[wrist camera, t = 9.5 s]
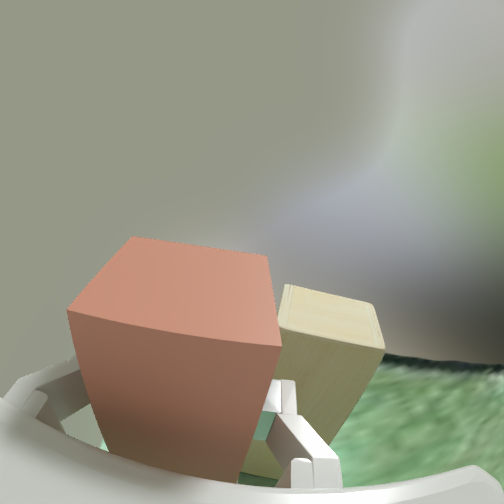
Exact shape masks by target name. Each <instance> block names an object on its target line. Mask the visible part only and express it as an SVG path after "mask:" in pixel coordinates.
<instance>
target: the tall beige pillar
mask: <svg viewBox="0 0 504 504" xmlns="http://www.w3.org/2000/svg"><path fill="white" fill-rule="evenodd" d="M277 318H278V324H279V330H280V336H281V342H282V349H281V352H280V355H279V359H278V362H277V365H276V369H275V372H274V375H273V378H275V379H283V380H293V381H295V385H296V400H297V415H302V417H303V418H304V419H305V420H306V421H307V422H308V424H309V425H310V426H311V427H312V428H313V429H314V431H315V432H316V433H317V434H318V435H319V436H320V437H321V439H322V440H323V441H324V442H325V443H326V444H327V445H328V446H329V444H330V443H331V441H332V440H333V439H334V437H335V436H336V434H337V433H338V431H339V430H340V428H341V427H342V425H343V424H344V422H345V421H346V419H347V418H348V416H349V415H350V413H351V412H352V410H353V409H354V407H355V405H356V404H357V402H358V401H359V399H360V397H361V396H362V394H363V392H364V391H365V389H366V387H367V386H368V384H369V382H370V380H371V379H372V377H373V375H374V373H375V371H376V370H377V368H378V366H379V364H380V362H381V360H382V358H383V356H384V354H385V344H384V340H383V336H382V333H381V330H380V326H379V323H378V319H377V316H376V313H375V310H374V307H373V305H372V304H370V303H367V302H362V301H358V300H354V299H349V298H345V297H340V296H336V295H332V294H328V293H323V292H318V291H315V290H310V289H306V288H302V287H298V286H294V285H289V284H285V285H284V289H283V292H282V296H281V300H280V305H279V308H278V312H277ZM241 472H243V473H248V474H252V475H256V476H261V477H266V478H271V479H277V480H279V479H280V478H281V476H282V475H283V473H284V472H283V470H282V468H281V467H280V465H279V463H278V462H277V460H276V459H275V457H274V455H273V454H272V452H271V450H270V449H269V447H268V445H267V444H266V441H262V440H255V439H252V441H251V444H250V447H249V450H248V453H247V455H246V458H245V461H244V464H243V466H242V469H241Z"/></svg>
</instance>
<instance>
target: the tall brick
mask: <svg viewBox="0 0 504 504" xmlns="http://www.w3.org/2000/svg"><path fill="white" fill-rule="evenodd" d="M67 315H68V320H69V325H70V330H71V334H72V339H73V343H74V347H75V351H76V355H77V359H78V363H79V367H80V371H81V374H82V378H83V381H84V384H85V388H86V391H87V394H88V397H89V400H90V403H91V406H92V409H93V412H94V414H95V418H96V420H97V423H98V426H99V428H100V431H101V433H102V435H103V438H104V441H105V443H106V446H107V448H108V450H109V452H110V453H113V454H115V455H118V456H121V457H124V458H127V459H130V460H133V461H136V462H139V463H143V464H146V465H149V466H153V467H156V468H160V469H164V470H168V471H172V472H176V473H180V474H184V475H189V476H194V477H198V478H204V479H209V480H215V481H221V482H227V483H234V484H236V482H237V480H238V477H239V474H240V472H241V469H242V466H243V464H244V461H245V458H246V455H247V453H248V450H249V447H250V444H251V441H252V438H253V436H254V433H255V430H256V427H257V424H258V421H259V418H260V415H261V412H262V409H263V406H264V403H265V400H266V397H267V394H268V391H269V388H270V385H271V381H272V378H273V375H274V372H275V369H276V365H277V362H278V359H279V355H280V352H281V349H282V342H281V336H280V330H279V324H278V318H277V312H276V306H275V300H274V294H273V288H272V283H271V277H270V272H269V266H268V259H267V256H266V255H259V254H251V253H245V252H238V251H231V250H224V249H217V248H210V247H203V246H197V245H190V244H183V243H176V242H169V241H162V240H156V239H149V238H141V237H135V236H132V237H131V238H130V240H128V241H127V242H126V243H125V244H124V246H123V247H122V248H121V249H120V250H119V251H118V252H117V253H116V254H115V255H114V256H113V257H112V259H110V261H109V262H108V263H107V264H106V265H105V266H104V267H103V268H102V269H101V270H100V271H99V273H98V274H97V275H96V276H95V277H94V278H93V279H92V280H91V281H90V283H89V284H88V285H87V286H86V287H85V288H84V290H83V291H82V292H81V293H80V294H79V295H78V296H77V298H76V299H75V300H74V301H73V302H72V304H71V305H70V306H69V307H68V308H67Z"/></svg>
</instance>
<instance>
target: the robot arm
mask: <svg viewBox="0 0 504 504" xmlns="http://www.w3.org/2000/svg"><path fill="white" fill-rule="evenodd" d="M88 404H90V400H89V397H88V394H87V391H86V388H85V384H84V381H83V378H82V374H81V371H80V367H79V363H78V359H77V355H76V353H75V354H74V356H73V357H72V358H71V360H70V361H69V362H68V361H64V362H61V363H58V364H56V365H53V366H51V367H48V368H45V369H43V370H40V371H38V372H35V373H32V374H30V375H27V376H25V377H22V378H19V379H18V380H17V382H16V383H15V384H14V386H13V387H12V388H11V389H10V391H9V392H8V393H7V394H6V395H5V397H4V398H3V399H2V398H1V397H0V504H504V492H503V489H502V487H501V485H500V483H499V482H498V481H497V480H496V479H495V478H494V477H492V476H491V475H490V474H488V473H487V472H486V471H484V470H483V469H481V468H480V467H478V466H476V465H470V466H465V467H462V468H459V469H455V470H452V471H448V472H444V473H440V474H436V475H431V476H427V477H422V478H417V479H412V480H407V481H401V482H394V483H388V484H380V485H371V486H361V487H348V488H343V484H342V476H341V468H340V461H339V458H338V456H337V455H336V454H335V453H334V452H333V451H332V450H331V449H330V448H329V447H328V445H327V444H326V443H325V442H324V441H323V440H322V439H321V437H320V436H319V435H318V434H317V433H316V432H315V431H314V429H313V428H312V427H311V426H310V425H309V424H308V422H307V421H306V420H305V419H304V418H303V417H302V415H297V400H296V385H295V381H293V380H283V379H275V378H272V381H271V385H270V388H269V391H268V394H267V397H266V400H265V403H264V406H263V409H262V412H261V415H260V418H259V421H258V424H257V427H256V430H255V433H254V436H253V438H252V439H255V440H262V441H266V444H267V445H268V447H269V449H270V450H271V452H272V454H273V455H274V457H275V459H276V460H277V462H278V463H279V465H280V467H281V468H282V470H283V472H284V473H283V475H282V476H281V478H280V479H279V481H278V482H277V484H276V485H275V487H261V486H251V485H242V484H234V483H227V482H221V481H215V480H209V479H204V478H198V477H194V476H189V475H184V474H180V473H176V472H172V471H168V470H164V469H160V468H156V467H153V466H149V465H146V464H143V463H139V462H136V461H133V460H130V459H127V458H124V457H121V456H118V455H115V454H113V453H110V452H107V451H105V450H102V449H99V448H97V447H94V446H92V445H90V444H87V443H85V442H83V441H80V440H78V439H76V438H73V437H71V436H69V435H67V434H66V432H65V430H64V428H63V426H62V424H61V423H60V421H62V420H63V419H65V418H67V417H69V416H70V415H72V414H73V413H75V412H77V411H78V410H80V409H81V408H83V407H85V406H86V405H88Z"/></svg>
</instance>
